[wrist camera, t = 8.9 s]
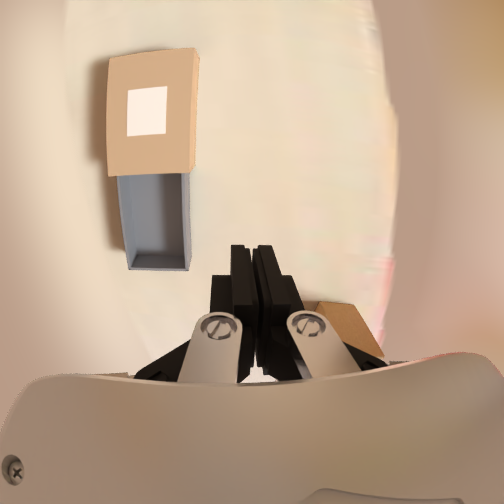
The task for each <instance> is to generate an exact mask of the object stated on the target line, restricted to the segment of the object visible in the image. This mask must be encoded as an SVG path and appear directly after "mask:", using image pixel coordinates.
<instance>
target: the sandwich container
mask: <svg viewBox="0 0 504 504" xmlns="http://www.w3.org/2000/svg"><path fill="white" fill-rule="evenodd" d="M315 312H316V313H319V314H321V315H322V316H324V317H325V318H326V319H327V320H328V321H329V323H330V324H331V326H332V327H333V329H334V330H335V331H336V333H337V334H338V336H339V337H340V339H341V340H342V341H343V342H345V343H347V344H349V345H351V346H354V347H356V348H358V349H360V350H362V351H364V352H366V353H368V354H370V355H372V356H375V357H377V358H379V359H382V358H384V354H383V352H382V350H381V349H380V347H379V345H378V344H377V342H376V340H375V338H374V337H373V335H372V333H371V332H370V330H369V328H368V327H367V325H366V323H365V322H364V320H363V318H362V317H361V315H360V313H359V312H358V310H357V309H356V307H355V306H354V305H350V304H341V303H332V302H322V301H320V302H319V303H318V306H317V308H316V310H315Z"/></svg>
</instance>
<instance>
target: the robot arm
mask: <svg viewBox="0 0 504 504" xmlns="http://www.w3.org/2000/svg"><path fill="white" fill-rule="evenodd" d="M255 354H256V361H257V367H262V368H263V375H270V376H272V377H274V378H275V379H276V380H275V382H260V383H240V382H242V381H243V380H244V379H245V378H246V377H247V376H249V375H250V367H253V366H254V356H255ZM0 504H504V377H503V376H502V374H501V373H500V372H499V371H498V369H497V368H496V367H495V366H494V365H493V364H492V363H491V361H490V360H488V359H487V358H486V357H484V356H482V355H479V354H475V353H466V352H457V353H456V352H455V353H447V354H440V355H436V356H432V357H427V358H422V359H419V360H414V361H405V362H404V361H389V362H388V364H386V363H385V362H384V361H382V360H380V359H379V358H377V357H375V356H372V355H370V354H368V353H366V352H364V351H362V350H360V349H358V348H356V347H354V346H351V345H349V344H347V343H345V342H343V341H342V340H341V339H340V337H339V336H338V334H337V333H336V331H335V330H334V329H333V327H332V326H331V324H330V323H329V321H328V320H327V319H326V318H325V317H324V316H322V315H321V314H319V313H316V312H313V311H305V309H304V306H303V304H302V301H301V298H300V296H299V293H298V291H297V288H296V285H295V283H294V280H293V278H292V276H291V275H282V274H281V271H280V268H279V265H278V262H277V260H276V257H275V254H274V251H273V248H272V245H258V249H253V256H252V261H251V255H250V249H249V248H245V246H244V245H231V271H230V275H212V286H211V300H210V313H209V314H206V315H204V316H202V317H201V318H200V319H199V320H198V321H197V323H196V325H195V328H194V331H193V334H192V337H191V339H190V340H188V341H187V342H185V343H184V344H182V345H180V346H179V347H177V348H176V349H174V350H172V351H171V352H169V353H167V354H166V355H164V356H162V357H161V358H159V359H157V360H156V361H154V362H152V363H151V364H149V365H147V366H146V367H144V368H142V369H141V370H140V371H138V372H137V373H136V375H131V376H129V375H128V373H127V372H126V373H111V374H77V373H76V374H58V375H51V376H45V377H41V378H38V379H35V380H33V381H31V382H30V383H28V384H27V385H26V386H25V387H24V388H23V389H22V390H21V392H20V393H19V394H18V396H17V398H16V399H15V401H14V403H13V405H12V406H11V408H10V410H9V412H8V415H7V417H6V419H5V421H4V424H3V426H2V429H1V432H0Z"/></svg>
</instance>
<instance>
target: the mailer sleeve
mask: <svg viewBox="0 0 504 504" xmlns="http://www.w3.org/2000/svg"><path fill="white" fill-rule="evenodd" d="M199 62H200V58H199V56H198V54H197V51H196V49H195V48H181V49H168V50H158V51H150V52H143V53H136V54H130V55H124V56H119V57H114V58H110V59H109V69H108V82H107V103H106V146H107V167H108V177H109V176H123V175H140V174H164V173H190V172H191V170H192V169H193V168H194V166H195V149H196V114H197V92H198V76H199Z"/></svg>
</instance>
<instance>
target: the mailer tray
mask: <svg viewBox="0 0 504 504" xmlns="http://www.w3.org/2000/svg"><path fill="white" fill-rule="evenodd" d="M117 187H118V198H119V208H120V217H121V225H122V232H123V239H124V246H125V252H126V258H127V263H128V269H129V270H155V271H189V266H190V262H191V258H192V254H191V232H190V195H189V173H164V174H140V175H123V176H117Z"/></svg>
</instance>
